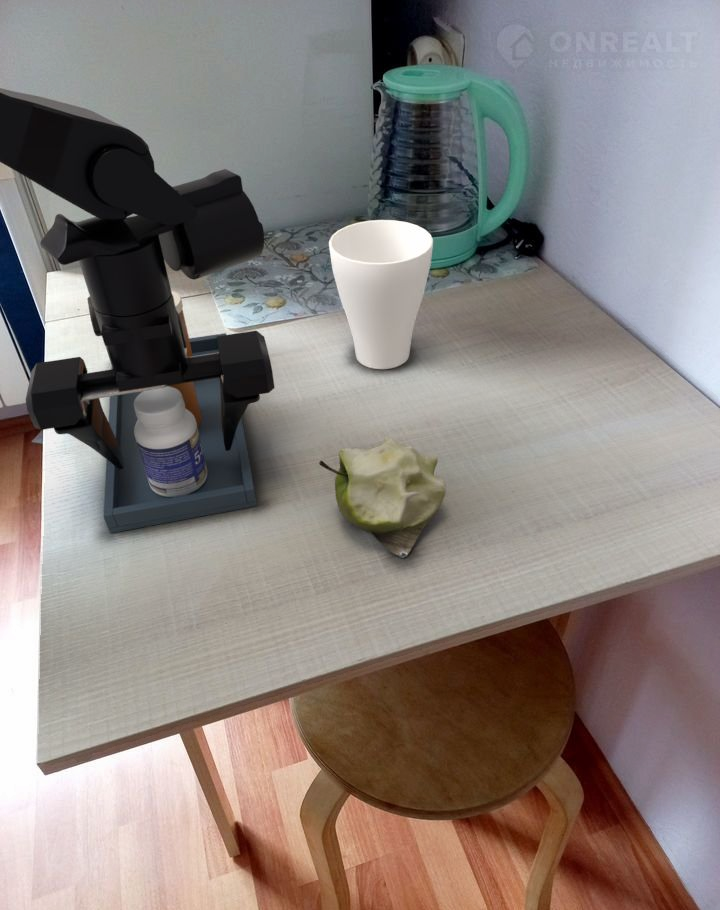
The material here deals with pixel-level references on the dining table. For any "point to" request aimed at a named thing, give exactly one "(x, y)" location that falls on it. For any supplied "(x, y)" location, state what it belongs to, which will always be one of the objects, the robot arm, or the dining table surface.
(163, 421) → the pill bottle
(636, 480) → the dining table surface
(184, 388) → the amber bottle middle
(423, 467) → the fruit
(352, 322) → the cup
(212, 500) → the tray
